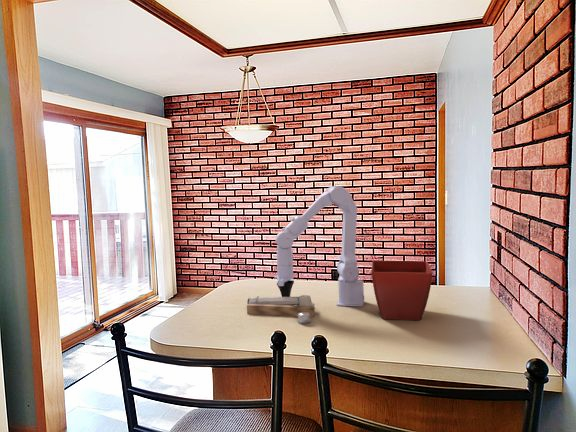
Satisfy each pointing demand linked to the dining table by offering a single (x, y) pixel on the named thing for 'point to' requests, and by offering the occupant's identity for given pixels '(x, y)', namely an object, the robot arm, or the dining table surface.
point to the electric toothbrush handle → (282, 300)
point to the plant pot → (401, 288)
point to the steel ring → (304, 318)
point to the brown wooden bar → (279, 309)
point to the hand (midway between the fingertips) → (286, 300)
